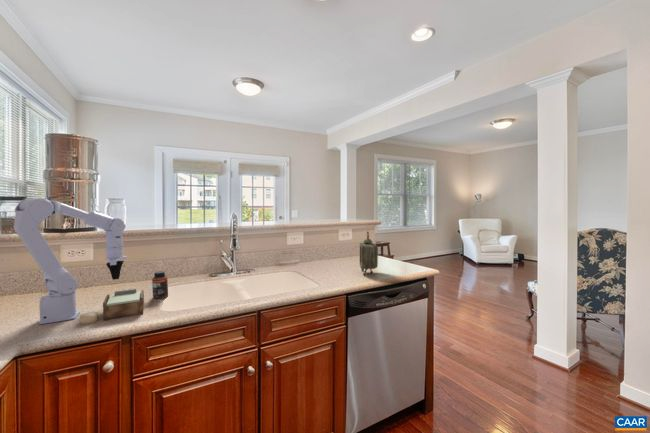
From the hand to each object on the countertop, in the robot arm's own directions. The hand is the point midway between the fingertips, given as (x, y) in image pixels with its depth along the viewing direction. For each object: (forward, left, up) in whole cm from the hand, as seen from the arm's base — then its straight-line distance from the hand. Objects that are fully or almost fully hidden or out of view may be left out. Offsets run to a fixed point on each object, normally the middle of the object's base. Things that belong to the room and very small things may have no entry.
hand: (115, 278), depth 121 cm
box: (+4, -15, -10) cm, 18 cm away
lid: (+4, -15, -5) cm, 16 cm away
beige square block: (-6, -19, -10) cm, 22 cm away
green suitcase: (+122, -16, -10) cm, 123 cm away
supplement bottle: (+16, -2, -10) cm, 19 cm away
